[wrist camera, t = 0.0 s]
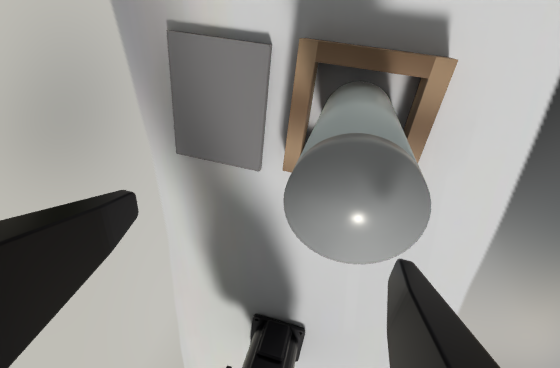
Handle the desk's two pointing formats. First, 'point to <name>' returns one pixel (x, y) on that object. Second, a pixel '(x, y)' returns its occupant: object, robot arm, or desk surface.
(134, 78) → the desk surface
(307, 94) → the walnut collar
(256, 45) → the rubber mat
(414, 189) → the pale grey cylinder
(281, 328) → the robot arm
